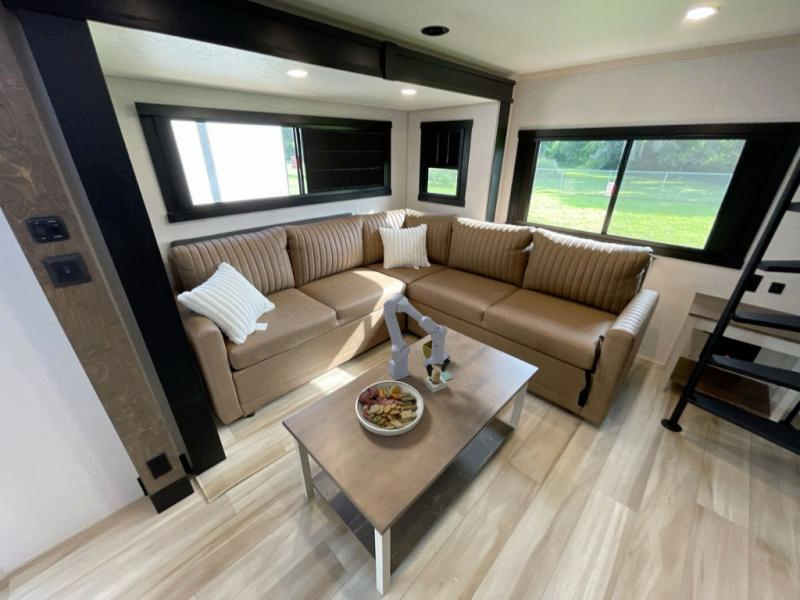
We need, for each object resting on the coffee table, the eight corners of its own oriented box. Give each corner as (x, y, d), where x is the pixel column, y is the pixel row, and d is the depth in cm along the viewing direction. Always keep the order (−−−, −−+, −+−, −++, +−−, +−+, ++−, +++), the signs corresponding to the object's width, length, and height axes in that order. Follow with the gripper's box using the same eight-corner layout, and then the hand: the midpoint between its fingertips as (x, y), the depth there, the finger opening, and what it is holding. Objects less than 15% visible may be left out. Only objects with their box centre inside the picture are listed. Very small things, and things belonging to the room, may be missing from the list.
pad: (443, 381, 156) (443, 381, 156) (436, 374, 160) (436, 374, 160) (452, 378, 158) (453, 377, 158) (446, 371, 163) (446, 370, 163)
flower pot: (443, 358, 173) (444, 345, 169) (433, 365, 168) (434, 351, 164) (431, 351, 179) (432, 338, 175) (421, 357, 173) (422, 344, 170)
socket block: (432, 392, 149) (433, 387, 147) (424, 382, 155) (424, 378, 154) (446, 387, 152) (446, 382, 151) (437, 377, 158) (437, 373, 157)
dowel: (434, 388, 151) (435, 376, 148) (429, 383, 154) (430, 371, 151) (440, 386, 153) (441, 373, 149) (436, 381, 156) (437, 368, 153)
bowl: (428, 395, 148) (429, 382, 144) (414, 447, 122) (415, 433, 118) (370, 383, 155) (369, 370, 151) (344, 430, 129) (343, 416, 125)
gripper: (429, 359, 138) (428, 383, 144) (455, 350, 144) (453, 373, 150) (421, 351, 144) (420, 374, 150) (446, 343, 150) (444, 365, 156)
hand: (436, 373), depth 150 cm, fingers open, 7 cm apart
